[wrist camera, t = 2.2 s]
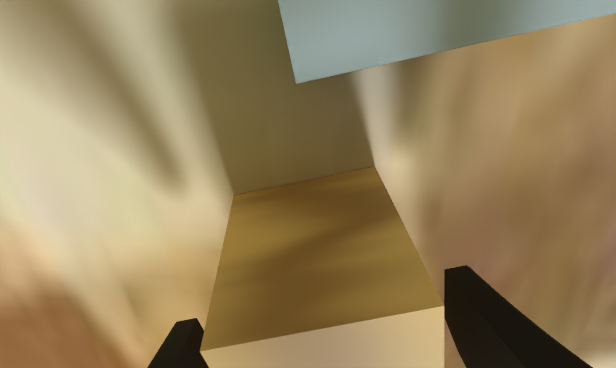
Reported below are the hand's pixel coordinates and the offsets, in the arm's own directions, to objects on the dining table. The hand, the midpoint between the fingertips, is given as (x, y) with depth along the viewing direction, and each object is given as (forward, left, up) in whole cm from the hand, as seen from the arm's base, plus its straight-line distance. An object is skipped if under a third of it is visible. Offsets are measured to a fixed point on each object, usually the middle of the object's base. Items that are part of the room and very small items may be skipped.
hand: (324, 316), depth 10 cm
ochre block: (0, 0, -4) cm, 4 cm away
